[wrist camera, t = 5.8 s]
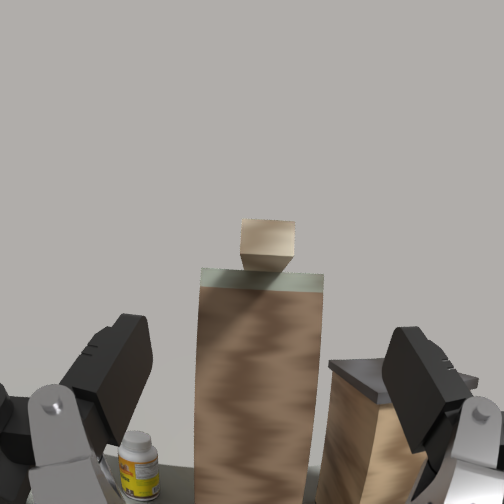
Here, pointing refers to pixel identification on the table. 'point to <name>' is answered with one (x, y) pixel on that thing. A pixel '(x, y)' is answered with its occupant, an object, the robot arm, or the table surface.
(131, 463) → the supplement bottle
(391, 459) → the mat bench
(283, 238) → the slat
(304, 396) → the walnut stand
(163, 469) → the table surface
